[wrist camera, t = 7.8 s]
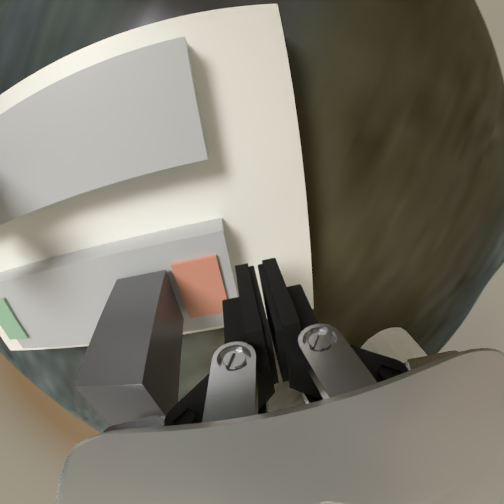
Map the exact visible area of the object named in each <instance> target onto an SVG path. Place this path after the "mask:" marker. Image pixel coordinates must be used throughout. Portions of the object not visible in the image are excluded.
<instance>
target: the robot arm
mask: <svg viewBox="0 0 504 504" xmlns="http://www.w3.org/2000/svg"><path fill="white" fill-rule="evenodd" d="M258 270H259V276H260V281H261V287H262V292H263V298H264V304H265V309H266V313H265V309H264V305H263V301H262V297H261V293H260V289H259V285H258V281H257V277H256V273H255V269H254V266H249V267H248V263H246V264H241V265H236V266H235V271H236V278H237V285H238V292H239V297H236V298H231V299H225V300H222V306H223V321H224V335H225V345H222V346H221V347H220V348H218V349H217V350H216V352H215V353H214V355H213V358H212V363H211V369H210V373H209V374H208V375H207V376H206V377H205V378H204V379H203V380H202V381H201V382H200V383H199V384H198V385H197V386H195V387H194V388H193V389H192V390H191V391H190V392H189V393H188V394H187V395H186V396H185V397H183V398H182V399H181V400H180V401H179V402H178V403H177V404H176V405H175V406H174V407H172V408H171V409H170V410H169V412H168V413H167V414H166V415H165V416H162V417H160V415H159V414H158V415H154V416H151V417H147V418H143V419H139V420H135V421H130V422H126V423H122V424H117V425H113V426H111V427H108V428H107V429H106V430H105V431H104V432H103V433H100V434H97V435H95V436H92V437H89V438H87V439H84V440H82V441H81V442H79V443H78V444H76V445H75V446H74V447H73V448H72V450H71V451H70V453H69V454H68V456H67V458H66V461H65V463H64V467H63V469H62V473H61V477H60V481H59V487H58V492H57V498H56V504H504V353H503V352H501V351H499V350H496V349H489V348H480V349H470V350H466V351H461V352H458V351H448V352H443V353H438V354H433V355H428V356H423V357H417V358H412V359H408V360H407V362H405V363H402V362H401V361H399V360H397V359H394V358H390V357H387V356H384V355H381V354H377V353H374V352H371V351H368V350H365V349H361V348H358V347H355V346H352V345H349V344H348V342H347V341H346V340H345V338H344V337H343V336H342V334H341V333H340V332H339V331H338V330H337V329H336V328H335V327H333V326H331V325H328V324H319V323H318V321H317V319H316V317H315V314H314V312H313V310H312V308H311V306H310V303H309V301H308V299H307V297H306V295H305V292H304V290H303V288H302V286H301V285H300V284H298V285H293V286H289V287H286V284H285V282H284V279H283V276H282V274H281V271H280V269H279V266H278V264H277V261H276V259H275V258H271V259H266V260H262V264H259V265H258ZM266 315H267V317H266ZM267 320H268V321H267ZM268 324H269V326H268ZM269 328H270V330H269ZM270 332H271V336H272V340H273V344H274V348H275V352H276V356H277V360H278V364H279V368H280V372H281V375H282V379H283V382H285V381H289V385H290V388H293V389H295V390H297V391H300V392H302V396H303V399H304V401H305V403H306V404H305V405H300V406H296V407H292V408H287V409H283V410H278V411H273V412H268V402H267V401H268V400H269V399H270V397H271V396H272V395H273V394H274V393H275V389H274V384H276V383H279V381H278V376H277V370H276V364H275V358H274V353H273V347H272V341H271V336H270Z"/></svg>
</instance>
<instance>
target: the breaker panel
mask: <svg viewBox="0 0 504 504" xmlns="http://www.w3.org/2000/svg"><path fill="white" fill-rule="evenodd" d="M271 258H275V259H276V261H277V264H278V266H279V269H280V271H281V274H282V276H283V279H284V282H285V284H286V287H289V286H293V285H298V284H300V285H301V286H302V288H303V290H304V292H305V295H306V297H307V299H308V301H309V303H310V306H311V308H312V309H314V302H313V280H312V263H311V247H310V233H309V221H308V209H307V198H306V188H305V178H304V169H303V160H302V151H301V143H300V135H299V127H298V120H297V113H296V106H295V99H294V92H293V86H292V79H291V73H290V67H289V61H288V56H287V50H286V45H285V39H284V34H283V29H282V24H281V19H280V14H279V9H278V5H277V4H260V5H248V6H238V7H230V8H222V9H216V10H210V11H204V12H198V13H193V14H188V15H184V16H179V17H175V18H171V19H167V20H163V21H159V22H155V23H152V24H148V25H145V26H142V27H138V28H135V29H132V30H129V31H126V32H123V33H120V34H117V35H115V36H112V37H109V38H107V39H104V40H102V41H99V42H97V43H94V44H92V45H89V46H87V47H85V48H83V49H80V50H78V51H76V52H74V53H72V54H70V55H67V56H65V57H63V58H61V59H59V60H57V61H56V62H54V63H52V64H50V65H48V66H46V67H44V68H42V69H41V70H39V71H37V72H35V73H34V74H32V75H30V76H29V77H27V78H25V79H24V80H22V81H20V82H19V83H17V84H16V85H14V86H13V87H11V88H10V89H8V90H7V91H5V92H4V93H2V94H1V95H0V336H1V338H2V339H3V341H4V342H5V343H6V345H7V346H8V348H9V349H10V350H38V349H56V348H70V347H82V346H89V343H90V341H91V338H92V336H93V333H94V331H95V328H96V326H97V323H98V321H99V318H100V316H101V314H102V311H103V309H104V307H105V304H106V302H107V300H108V298H109V295H110V293H111V291H112V289H113V287H114V285H115V282H116V280H117V279H121V278H126V277H131V276H137V275H142V274H147V273H152V272H157V271H162V270H166V272H167V275H168V278H169V280H170V283H171V286H172V289H173V291H174V294H175V297H176V300H177V302H178V305H179V307H180V310H181V313H182V315H183V318H184V323H183V334H189V333H195V332H201V331H207V330H213V329H219V328H224V321H223V306H222V300H225V299H231V298H236V297H239V292H238V285H237V278H236V271H235V266H236V265H241V264H246V263H248V267H249V266H254V269H255V273H256V277H257V281H258V285H259V289H260V293H261V297H262V301H263V305H264V309H265V304H264V298H263V292H262V287H261V281H260V276H259V270H258V265H259V264H262V260H266V259H271ZM265 313H266V309H265ZM266 317H267V315H266Z"/></svg>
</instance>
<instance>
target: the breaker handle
mask: <svg viewBox="0 0 504 504" xmlns="http://www.w3.org/2000/svg"><path fill="white" fill-rule="evenodd" d="M183 323H184V318H183V315H182V313H181V310H180V307H179V305H178V302H177V300H176V297H175V294H174V291H173V289H172V286H171V283H170V280H169V278H168V275H167V272H166V270H162V271H157V272H152V273H147V274H142V275H137V276H131V277H126V278H121V279H117V280H116V282H115V285H114V287H113V289H112V291H111V293H110V295H109V298H108V300H107V302H106V304H105V307H104V309H103V311H102V314H101V316H100V318H99V321H98V323H97V326H96V328H95V331H94V333H93V336H92V338H91V341H90V343H89V346H88V348H87V351H86V354H85V356H84V359H83V362H82V365H81V367H80V370H79V373H78V376H77V379H76V382H75V385H74V386H75V388H76V389H77V390H78V391H79V392H80V393H81V395H82V396H83V397H84V398H85V399H86V400H87V401H88V402H89V404H90V405H91V406H92V407H93V408H94V409H95V410H96V411H97V412H98V413H99V414H100V415H101V416H102V417H103V418H104V419H105V420H106V421H107V422H108V423H109V424H110V425H111V426H113V425H117V424H122V423H126V422H130V421H135V420H139V419H143V418H147V417H151V416H154V415H158V414H159V415H160V417H162V416H165V415H166V414H167V413H168V412H169V410H170V409H171V408H172V407H174V406H175V405H176V404H177V403H178V389H179V373H180V359H181V346H182V334H183Z"/></svg>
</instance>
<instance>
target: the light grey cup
mask: <svg viewBox="0 0 504 504" xmlns="http://www.w3.org/2000/svg"><path fill="white" fill-rule="evenodd" d="M361 349H365V350H368V351H371V352H374V353H377V354H381V355H384V356H387V357H390V358H394V359H397V360H399V361H401V362H402V363H405V362H407V360H408V359H412V358H417V357H423V356H428V355H427V354H426V353H425V352H424V351H423V350H422V348H421V347H420V346H419V345H418V344H417V343H416V342H415V340H414V339H413V338H412V337H411V336H410V335H409V334H408V333H407V332H406V331H405V330H404V329H402V328H400V327H391V328H388V329H385V330H382V331H380V332H379V333H377V334H375V335H374V336H372V337H370V338H369V339H368V340H367V341H366V342H365V343H364V344H363V345H362V346H361Z"/></svg>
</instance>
